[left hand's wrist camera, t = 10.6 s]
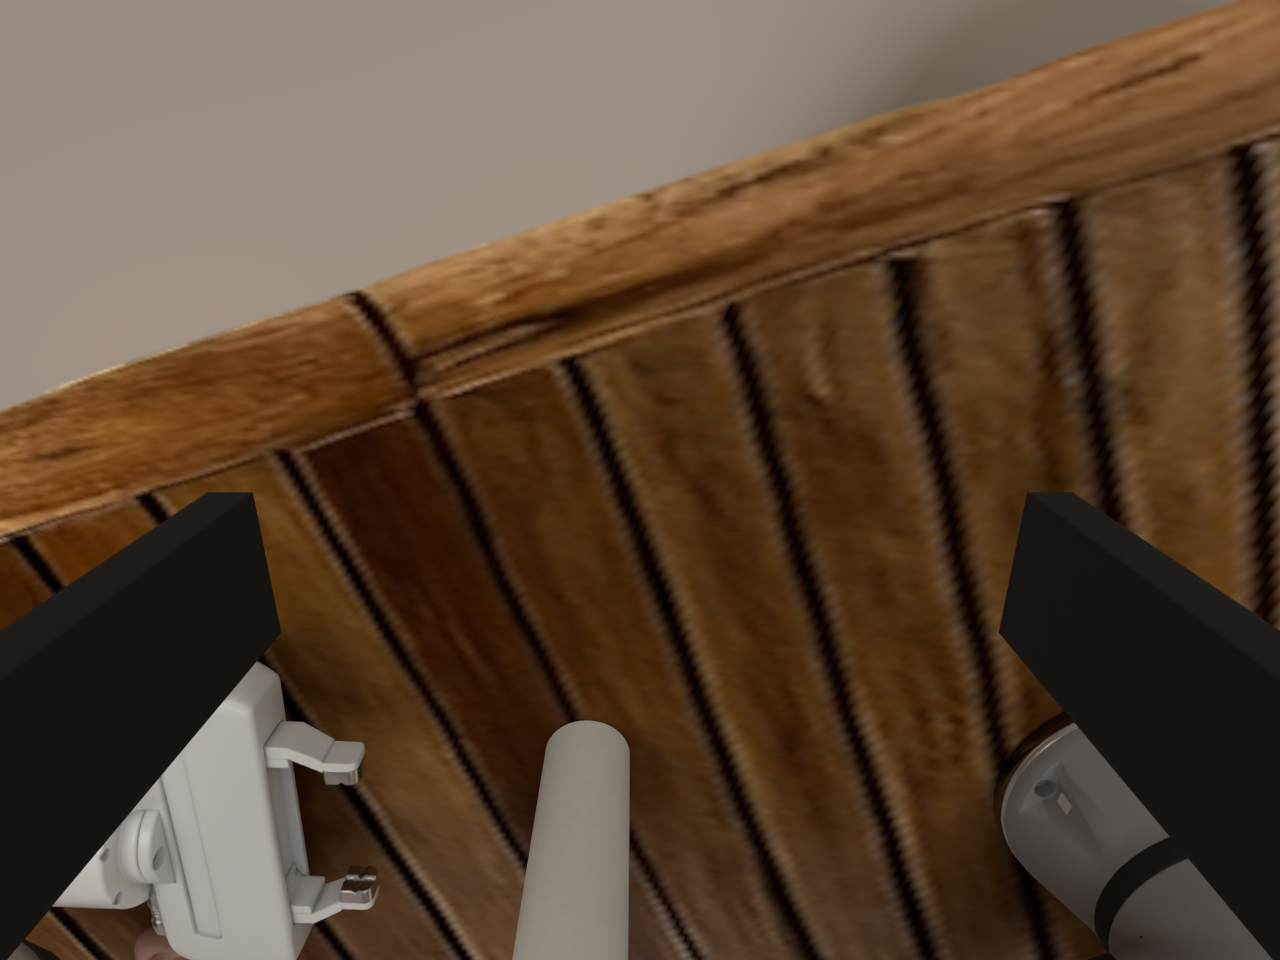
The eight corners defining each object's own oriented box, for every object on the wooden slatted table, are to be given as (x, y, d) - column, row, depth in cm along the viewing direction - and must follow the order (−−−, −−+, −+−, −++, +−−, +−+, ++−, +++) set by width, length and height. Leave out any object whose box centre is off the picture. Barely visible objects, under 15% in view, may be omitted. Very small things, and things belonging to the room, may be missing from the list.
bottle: (612, 795, 50) (598, 1141, 31) (534, 772, 49) (475, 1113, 31) (642, 734, 48) (647, 1065, 30) (562, 709, 47) (516, 1032, 29)
